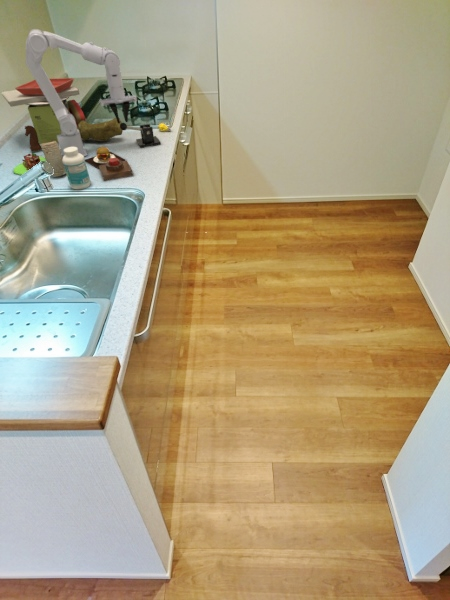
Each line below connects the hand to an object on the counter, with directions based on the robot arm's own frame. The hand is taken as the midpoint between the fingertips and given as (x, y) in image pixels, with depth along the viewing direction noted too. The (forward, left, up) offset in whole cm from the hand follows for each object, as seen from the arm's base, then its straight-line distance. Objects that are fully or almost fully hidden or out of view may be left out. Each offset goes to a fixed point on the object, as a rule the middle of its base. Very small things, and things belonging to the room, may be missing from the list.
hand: (122, 122), depth 167 cm
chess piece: (-37, +13, -10) cm, 40 cm away
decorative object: (-15, +20, -4) cm, 25 cm away
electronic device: (-29, +28, +7) cm, 41 cm away
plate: (-27, +25, +5) cm, 38 cm away
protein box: (-27, +24, -10) cm, 37 cm away
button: (-9, -25, -7) cm, 28 cm away
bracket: (+10, 0, -10) cm, 14 cm away
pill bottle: (-23, -30, -11) cm, 40 cm away
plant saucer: (-26, +24, +9) cm, 36 cm away
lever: (+4, 0, -5) cm, 6 cm away
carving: (-30, -18, -10) cm, 36 cm away
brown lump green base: (-38, -6, -10) cm, 40 cm away
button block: (-9, -25, -10) cm, 29 cm away
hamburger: (-11, -11, -11) cm, 19 cm away
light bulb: (+19, +10, -9) cm, 23 cm away
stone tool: (-7, +17, -4) cm, 19 cm away
